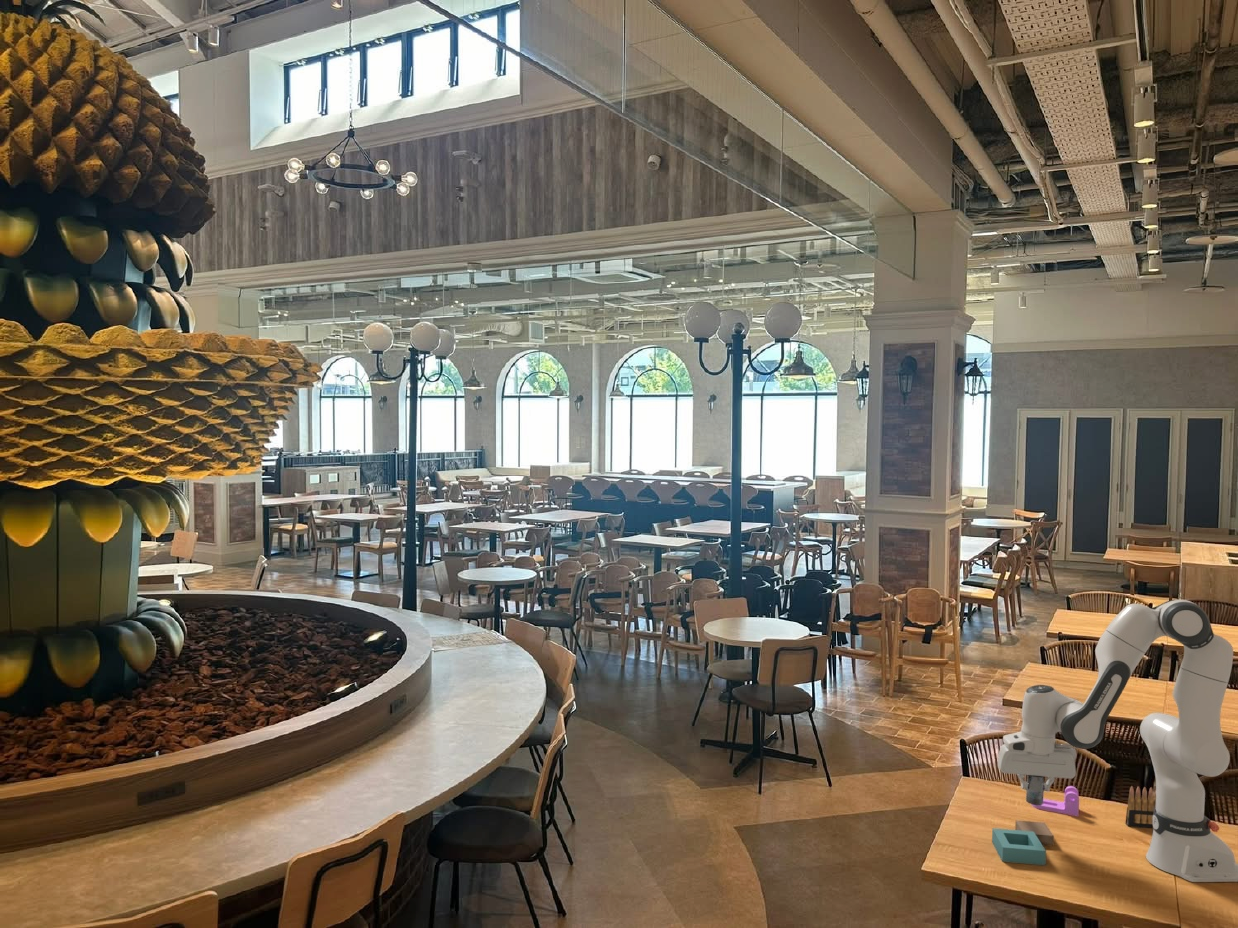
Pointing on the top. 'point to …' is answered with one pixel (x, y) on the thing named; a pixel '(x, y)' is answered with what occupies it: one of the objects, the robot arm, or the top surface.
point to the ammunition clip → (1140, 809)
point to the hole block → (1018, 846)
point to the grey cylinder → (1035, 789)
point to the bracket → (1063, 803)
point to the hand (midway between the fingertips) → (1035, 789)
